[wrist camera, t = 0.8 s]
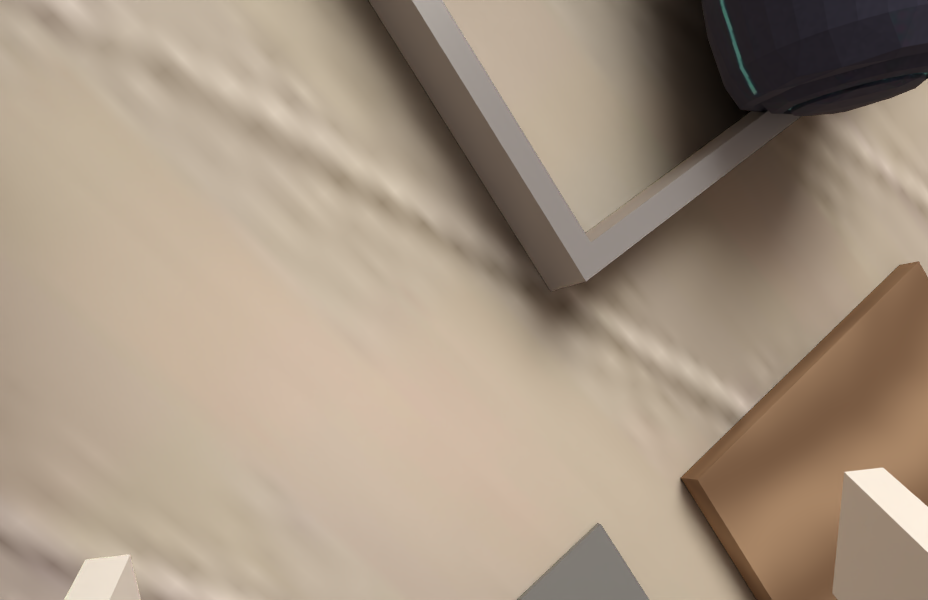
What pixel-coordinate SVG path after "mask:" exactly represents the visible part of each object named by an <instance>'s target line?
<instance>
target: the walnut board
mask: <svg viewBox="0 0 928 600" xmlns="http://www.w3.org/2000/svg"><path fill="white" fill-rule="evenodd" d="M874 468H884V469H885V470H887V471H888V472H889V473H890V474H891V475H892V476H893V477H894V478H896V479H897V480H898V481H899V482H900V483H901V484H902V485H904V486H905V487H906V488H907V489H908V490H909V491H910V492H912V493H913V494H914V495H915V496H916V497H917V498H918V499H919V500H921V501H922V502H923V503H924V504H925V505H926V506H927V507H928V277H927V275H926V273H925V272H924V270H923V268H922V266H921V265H920V263H919V262H913V263H908V264H903V265H899V266H898V267H897V268H896V269H895V270H894V271H893V272H892V273H891V274H890V275H889V276H888V277H887V278H886V279H885V280H884V281H883V282H882V283H881V284H880V285H879V286H877V287H876V288H875V289H874V290H873V291H872V292H871V293H870V294H869V295H868V296H867V297H866V298H865V299H864V300H863V301H862V302H861V303H860V304H859V305H858V306H857V307H856V308H855V309H854V310H853V311H852V312H851V313H850V314H849V315H848V316H847V317H846V318H845V319H844V320H842V321H841V322H840V323H839V324H838V325H837V326H836V327H835V328H834V329H833V330H832V331H831V332H830V333H829V334H828V335H827V336H826V337H825V338H824V339H823V340H822V341H821V342H820V343H819V344H818V345H817V346H816V347H815V348H814V349H813V350H812V351H811V352H810V353H809V354H808V355H806V356H805V357H804V358H803V359H802V360H801V361H800V362H799V363H798V364H797V365H796V366H795V367H794V368H793V369H792V370H791V371H790V372H789V373H788V374H787V375H786V376H785V377H784V378H783V379H782V380H781V381H780V382H779V383H778V384H777V385H776V386H775V387H774V388H773V389H771V390H770V391H769V392H768V393H767V394H766V395H765V396H764V397H763V398H762V399H761V400H760V401H759V402H758V403H757V404H756V405H755V406H754V407H753V408H752V409H751V410H750V411H749V412H748V413H747V414H746V415H745V416H744V417H743V418H742V419H741V420H740V421H739V422H738V423H737V424H735V425H734V426H733V427H732V428H731V429H730V430H729V431H728V432H727V433H726V434H725V435H724V436H723V437H722V438H721V439H720V440H719V441H718V442H717V443H716V444H715V445H714V446H713V447H712V448H711V449H710V450H709V451H708V452H707V453H706V454H705V455H704V456H703V457H702V458H701V459H699V460H698V461H697V462H696V463H695V464H694V465H693V466H692V467H691V468H690V469H689V470H688V471H687V472H686V473H685V474H684V475H683V476H682V477H681V479H682V481H683V482H684V484H685V486H686V487H687V489H688V490H689V492H690V494H691V495H692V497H693V498H694V500H695V502H696V503H697V505H698V506H699V508H700V510H701V511H702V513H703V514H704V516H705V518H706V519H707V521H708V522H709V524H710V526H711V527H712V529H713V530H714V532H715V534H716V535H717V537H718V538H719V540H720V542H721V543H722V545H723V546H724V548H725V550H726V551H727V553H728V554H729V556H730V558H731V559H732V561H733V562H734V564H735V566H736V567H737V569H738V570H739V572H740V574H741V575H742V577H743V579H744V580H745V582H746V583H747V585H748V587H749V588H750V590H751V591H752V593H753V595H754V596H755V598H756V599H757V600H837V598H836V597H835V596H834V595H833V593H832V590H833V580H834V570H835V560H836V550H837V540H838V530H839V520H840V510H841V500H842V489H843V479H844V472H848V471H857V470H865V469H874Z"/></svg>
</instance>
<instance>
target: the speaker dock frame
mask: <svg viewBox="0 0 928 600" xmlns="http://www.w3.org/2000/svg"><path fill="white" fill-rule="evenodd" d="M368 1H369V2H370V4H371V5H372V7H373V9H374V10H375V12H376V13H377V15H378V17H379V18H380V20H381V21H382V23H383V25H384V26H385V28H386V29H387V31H388V32H389V34H390V36H391V37H392V39H393V40H394V42H395V44H396V45H397V47H398V48H399V50H400V52H401V53H402V55H403V56H404V58H405V60H406V61H407V63H408V64H409V66H410V68H411V69H412V71H413V72H414V74H415V76H416V77H417V79H418V80H419V82H420V84H421V85H422V87H423V88H424V90H425V92H426V93H427V95H428V96H429V98H430V100H431V101H432V103H433V104H434V106H435V108H436V109H437V111H438V112H439V114H440V116H441V117H442V119H443V120H444V122H445V124H446V125H447V127H448V128H449V130H450V131H451V133H452V135H453V136H454V138H455V139H456V141H457V143H458V144H459V146H460V147H461V149H462V151H463V152H464V154H465V155H466V157H467V159H468V160H469V162H470V163H471V165H472V167H473V168H474V170H475V171H476V173H477V175H478V176H479V178H480V179H481V181H482V183H483V184H484V186H485V187H486V189H487V191H488V192H489V194H490V195H491V197H492V199H493V200H494V202H495V203H496V205H497V207H498V208H499V210H500V211H501V213H502V215H503V216H504V218H505V219H506V221H507V223H508V224H509V226H510V227H511V229H512V230H513V232H514V234H515V235H516V237H517V238H518V240H519V242H520V243H521V245H522V246H523V248H524V250H525V251H526V253H527V254H528V256H529V258H530V259H531V261H532V262H533V264H534V266H535V267H536V269H537V270H538V272H539V274H540V275H541V277H542V278H543V280H544V282H545V283H546V285H547V286H548V288H549V290H550V291H553V290H557V289H561V288H564V287H568V286H572V285H575V284H579V283H583V282H586V281H587V280H589V279H590V278H591V277H593V276H594V275H595V274H597V273H598V272H599V271H600V270H602V269H603V268H604V267H606V266H607V265H608V264H610V263H611V262H612V261H614V260H615V259H616V258H617V257H619V256H620V255H621V254H623V253H624V252H625V251H627V250H628V249H629V248H630V247H632V246H633V245H634V244H636V243H637V242H638V241H640V240H641V239H642V238H643V237H645V236H646V235H647V234H649V233H650V232H651V231H653V230H654V229H655V228H656V227H658V226H659V225H660V224H662V223H663V222H664V221H666V220H667V219H668V218H670V217H671V216H672V215H673V214H675V213H676V212H677V211H679V210H680V209H681V208H683V207H684V206H685V205H686V204H688V203H689V202H690V201H692V200H693V199H694V198H696V197H697V196H698V195H699V194H701V193H702V192H703V191H705V190H706V189H707V188H709V187H710V186H711V185H712V184H714V183H715V182H716V181H718V180H719V179H720V178H722V177H723V176H724V175H726V174H727V173H728V172H729V171H731V170H732V169H733V168H735V167H736V166H737V165H739V164H740V163H741V162H742V161H744V160H745V159H746V158H748V157H749V156H750V155H752V154H753V153H754V152H755V151H757V150H758V149H759V148H761V147H762V146H763V145H765V144H766V143H767V142H768V141H770V140H771V139H772V138H774V137H775V136H776V135H778V134H779V133H780V132H782V131H783V130H784V129H785V128H787V127H788V126H789V125H791V124H792V123H793V122H795V121H796V120H797V119H798V118H800V117H801V116H794V115H793V114H772V113H770V112H769V111H768V110H766V111H764V112H755V111H751V112H750V113H748V114H747V115H746V116H744V117H743V118H742V119H740V120H739V121H738V122H736V123H735V124H733V125H732V126H731V127H729V128H728V129H727V130H725V131H724V132H722V133H721V134H720V135H718V136H717V137H716V138H714V139H713V140H712V141H710V142H709V143H707V144H706V145H705V146H703V147H702V148H701V149H699V150H698V151H697V152H695V153H694V154H692V155H691V156H690V157H688V158H687V159H686V160H684V161H683V162H682V163H680V164H679V165H677V166H676V167H675V168H673V169H672V170H671V171H669V172H668V173H667V174H665V175H664V176H662V177H661V178H660V179H658V180H657V181H656V182H654V183H653V184H652V185H650V186H649V187H647V188H646V189H645V190H643V191H642V192H641V193H639V194H638V195H637V196H635V197H634V198H632V199H631V200H630V201H628V202H627V203H626V204H624V205H623V206H622V207H620V208H619V209H617V210H616V211H615V212H613V213H612V214H611V215H609V216H608V217H607V218H605V219H604V220H602V221H601V222H600V223H598V224H597V225H596V226H594V227H593V228H592V229H590V230H589V231H587V232H586V233H585V232H584V230H583V229H582V227H581V226H580V224H579V222H578V221H577V219H576V217H575V216H574V214H573V213H572V211H571V209H570V208H569V206H568V204H567V203H566V201H565V200H564V198H563V196H562V195H561V193H560V191H559V190H558V188H557V187H556V185H555V183H554V182H553V180H552V178H551V177H550V175H549V173H548V172H547V170H546V169H545V167H544V165H543V164H542V162H541V160H540V159H539V157H538V156H537V154H536V152H535V151H534V149H533V147H532V146H531V144H530V143H529V141H528V139H527V138H526V136H525V134H524V133H523V131H522V130H521V128H520V126H519V125H518V123H517V121H516V120H515V118H514V116H513V115H512V113H511V112H510V110H509V108H508V107H507V105H506V103H505V102H504V100H503V99H502V97H501V95H500V94H499V92H498V90H497V89H496V87H495V86H494V84H493V82H492V81H491V79H490V77H489V76H488V74H487V73H486V71H485V69H484V68H483V66H482V64H481V63H480V61H479V60H478V58H477V56H476V55H475V53H474V51H473V50H472V48H471V46H470V45H469V43H468V42H467V40H466V38H465V37H464V35H463V33H462V32H461V30H460V29H459V27H458V25H457V24H456V22H455V20H454V19H453V17H452V16H451V14H450V12H449V11H448V9H447V7H446V6H445V4H444V3H443V1H442V0H368Z"/></svg>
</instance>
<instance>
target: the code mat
mask: <svg viewBox="0 0 928 600" xmlns="http://www.w3.org/2000/svg"><path fill="white" fill-rule="evenodd" d="M517 600H649V598H648V597H647V595H646V594H645V592H644V591H643V589H642V587H641V586H640V584H639V583H638V581H637V580H636V578H635V577H634V575H633V573H632V572H631V570H630V569H629V567H628V566H627V564H626V563H625V561H624V559H623V558H622V556H621V555H620V553H619V552H618V550H617V549H616V547H615V545H614V544H613V542H612V541H611V539H610V538H609V536H608V535H607V533H606V531H605V530H604V528H603V527H602V525H601V524H599V523H597V524H596V525H595V526H594V527H593V528H592V529H591V530H590V531H589V532H588V533H587V534H586V535H585V536H584V537H583V538H581V539H580V540H579V541H578V542H577V543H576V544H575V545H574V546H573V547H572V548H571V549H570V550H569V551H568V552H567V553H566V554H565V555H564V556H562V557H561V558H560V559H559V560H558V561H557V562H556V563H555V564H554V565H553V566H552V567H551V568H550V569H549V570H548V571H547V572H546V573H545V574H543V575H542V576H541V577H540V578H539V579H538V580H537V581H536V582H535V583H534V584H533V585H532V586H531V587H530V588H529V589H528V590H527V591H525V592H524V593H523V594H522V595H521V596H520V597H519V598H518V599H517Z"/></svg>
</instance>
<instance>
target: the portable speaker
mask: <svg viewBox="0 0 928 600" xmlns="http://www.w3.org/2000/svg"><path fill="white" fill-rule="evenodd" d="M701 2H702V8H703V14H704V20H705V26H706V32H707V37H708V40H709V43H710V46H711V49H712V52H713V55H714V58H715V61H716V64H717V67H718V70H719V73H720V76H721V79H722V82H723V85H724V88H725V89H726V90H727V92H728V93H729V95H730V96H731V97H732V99H733V100H734V102H735V103H736V104H737V106H738V107H739V108H740V110H748V111H755V112H764V111H766V110H768V111H769V112H770V113H772V114H793V115H794V116H810V115H822V114H833V113H839V112H845V111H849V110H852V109H856V108H859V107H862V106H866V105H869V104H872V103H876V102H879V101H882V100H886V99H889V98H892V97H894V96H897V95H899V94H902V93H904V92H907V91H909V90H912V89H914V88H916V87H917V86H919V85H920V84H921V83H922V82H923V81H925V80H926V79H928V0H701Z"/></svg>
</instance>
